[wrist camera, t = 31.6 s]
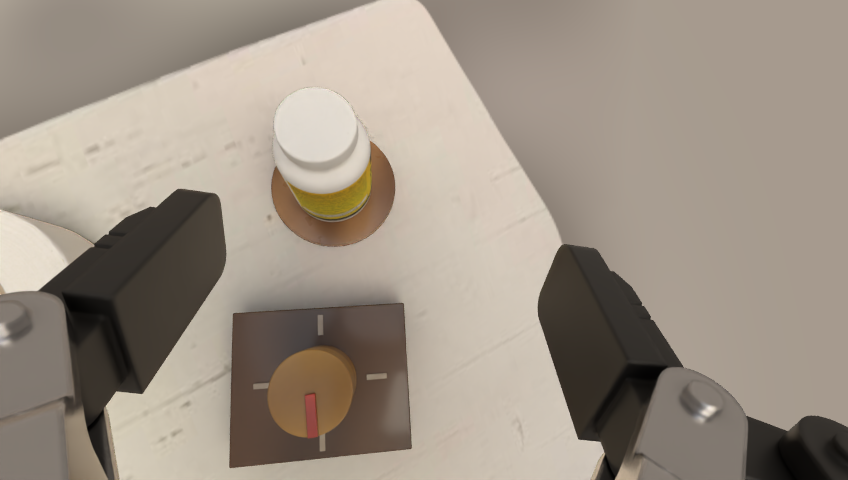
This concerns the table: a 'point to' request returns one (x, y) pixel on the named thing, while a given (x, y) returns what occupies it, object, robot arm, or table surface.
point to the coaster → (342, 230)
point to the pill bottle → (323, 153)
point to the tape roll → (34, 252)
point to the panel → (373, 398)
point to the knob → (312, 391)
